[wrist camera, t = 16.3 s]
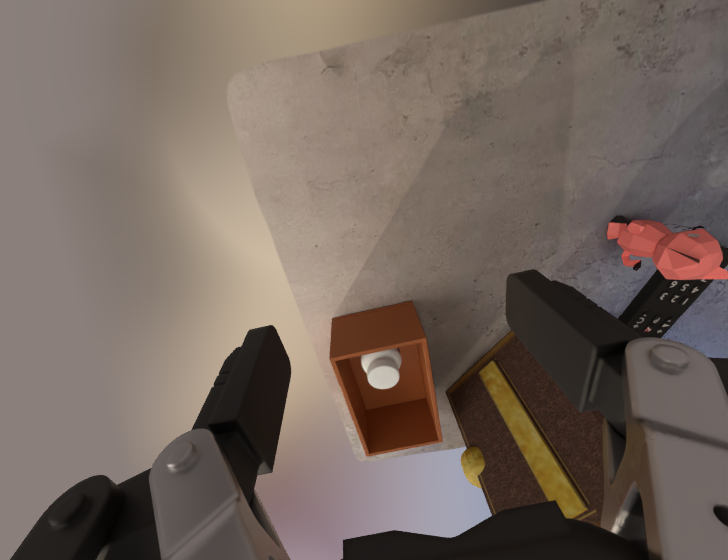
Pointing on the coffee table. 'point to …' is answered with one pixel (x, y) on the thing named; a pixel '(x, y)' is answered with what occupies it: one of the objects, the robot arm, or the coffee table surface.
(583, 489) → the book
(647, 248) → the cat figurine
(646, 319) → the remote control
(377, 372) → the pill bottle
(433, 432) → the orange open bin
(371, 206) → the coffee table surface
